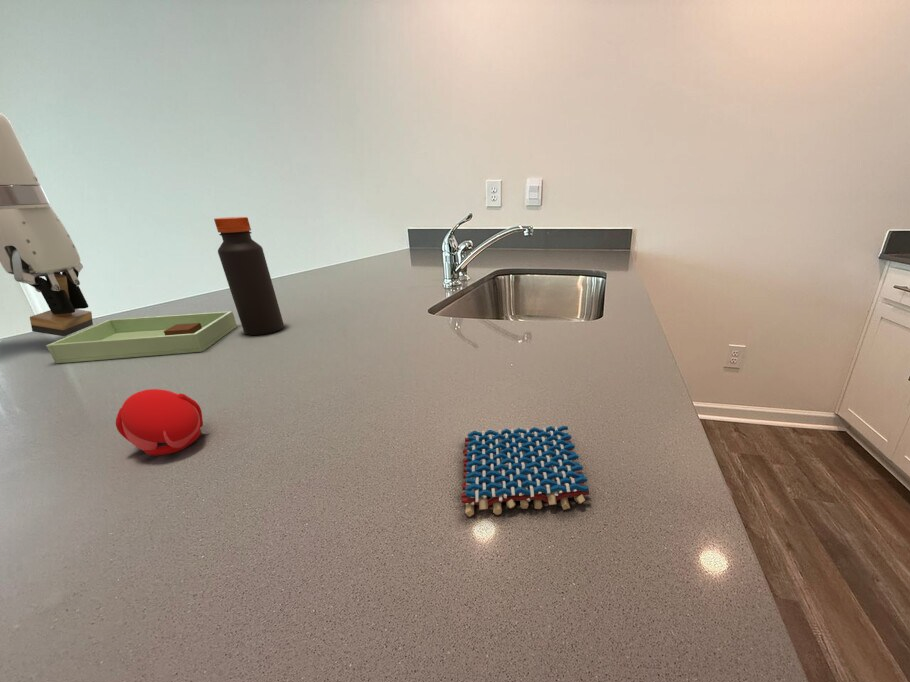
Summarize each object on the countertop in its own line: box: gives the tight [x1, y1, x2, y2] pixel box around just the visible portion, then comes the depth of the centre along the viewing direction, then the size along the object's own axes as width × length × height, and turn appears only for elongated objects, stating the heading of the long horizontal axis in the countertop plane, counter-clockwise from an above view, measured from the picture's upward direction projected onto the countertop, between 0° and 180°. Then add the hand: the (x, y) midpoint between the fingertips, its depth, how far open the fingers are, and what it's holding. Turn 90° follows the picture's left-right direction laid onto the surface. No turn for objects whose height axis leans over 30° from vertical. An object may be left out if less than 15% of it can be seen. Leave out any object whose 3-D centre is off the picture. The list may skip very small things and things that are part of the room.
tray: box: [45, 310, 238, 364], centre depth 72 cm, size 21×14×3 cm
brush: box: [29, 273, 94, 337], centre depth 72 cm, size 7×4×10 cm, turn 11°
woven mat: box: [460, 424, 590, 518], centre depth 37 cm, size 10×11×2 cm
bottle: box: [213, 216, 285, 336], centre depth 74 cm, size 7×7×20 cm
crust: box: [164, 323, 202, 336], centre depth 73 cm, size 4×4×2 cm
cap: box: [115, 388, 204, 456], centre depth 42 cm, size 8×6×6 cm
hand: (71, 310), depth 73 cm, fingers closed on brush, 2 cm apart
